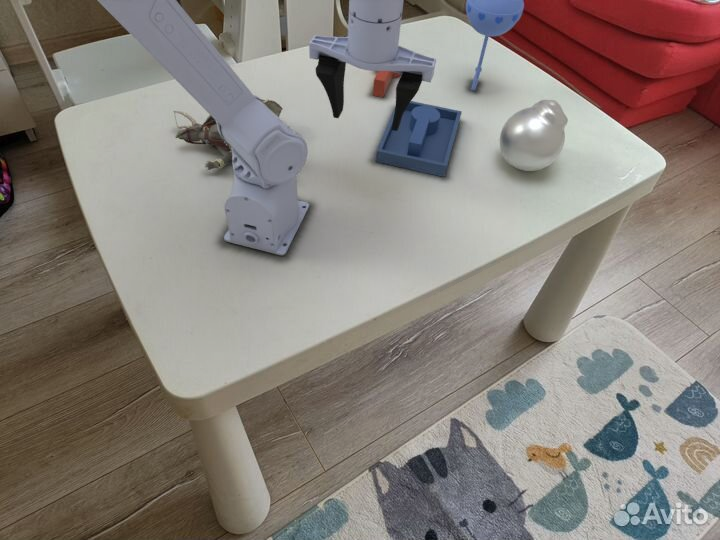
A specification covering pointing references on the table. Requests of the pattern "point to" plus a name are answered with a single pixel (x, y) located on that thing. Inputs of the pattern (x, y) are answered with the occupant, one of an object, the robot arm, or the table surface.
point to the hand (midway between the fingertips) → (366, 119)
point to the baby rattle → (492, 21)
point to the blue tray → (433, 149)
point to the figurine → (213, 135)
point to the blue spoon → (422, 127)
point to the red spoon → (383, 82)
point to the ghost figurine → (534, 136)
